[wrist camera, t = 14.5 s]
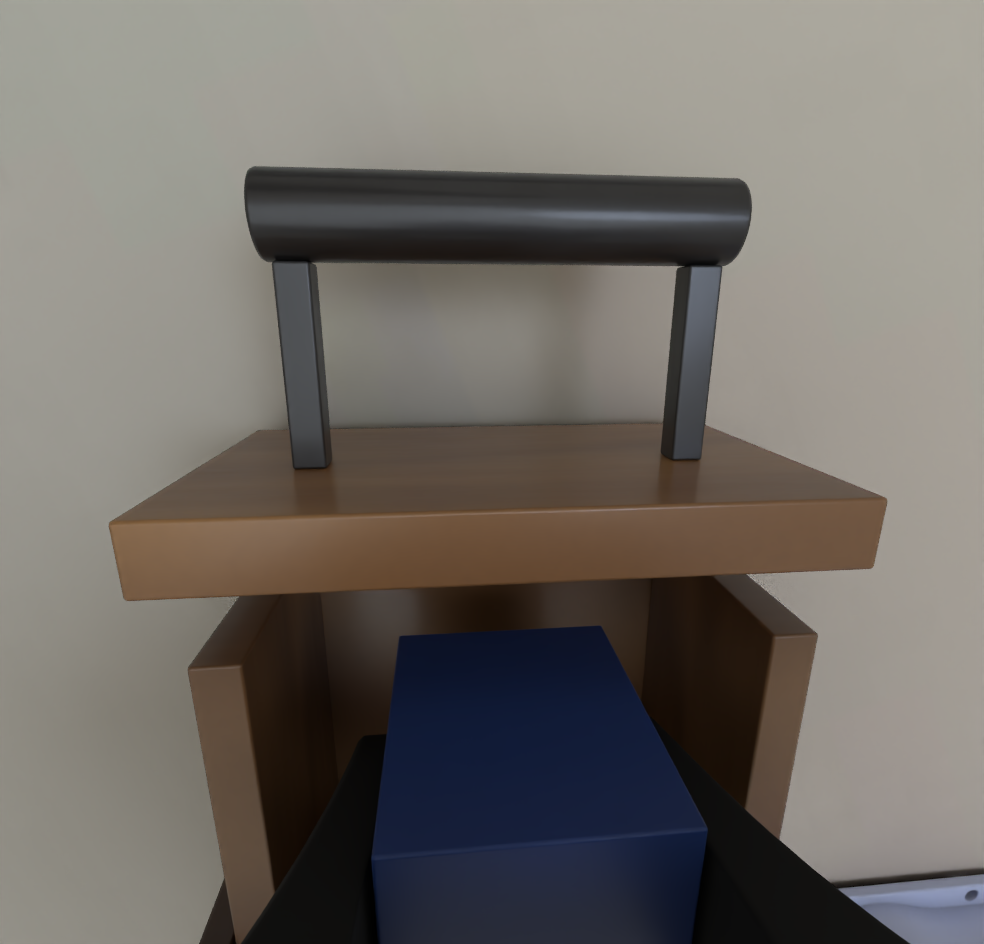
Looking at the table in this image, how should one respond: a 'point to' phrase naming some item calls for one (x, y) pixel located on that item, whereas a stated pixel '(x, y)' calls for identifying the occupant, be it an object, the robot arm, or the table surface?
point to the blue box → (529, 798)
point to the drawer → (485, 513)
